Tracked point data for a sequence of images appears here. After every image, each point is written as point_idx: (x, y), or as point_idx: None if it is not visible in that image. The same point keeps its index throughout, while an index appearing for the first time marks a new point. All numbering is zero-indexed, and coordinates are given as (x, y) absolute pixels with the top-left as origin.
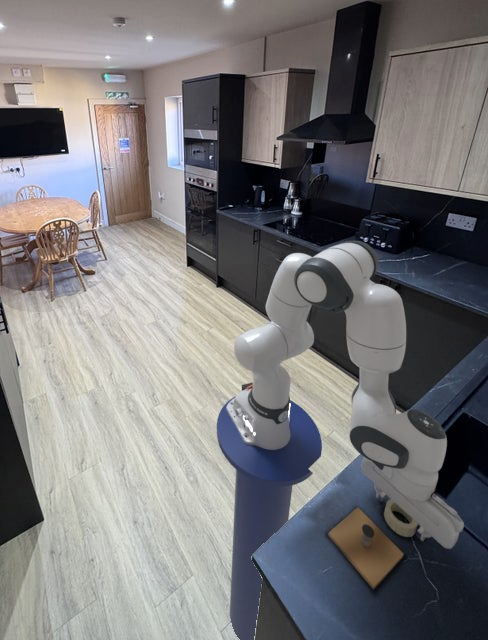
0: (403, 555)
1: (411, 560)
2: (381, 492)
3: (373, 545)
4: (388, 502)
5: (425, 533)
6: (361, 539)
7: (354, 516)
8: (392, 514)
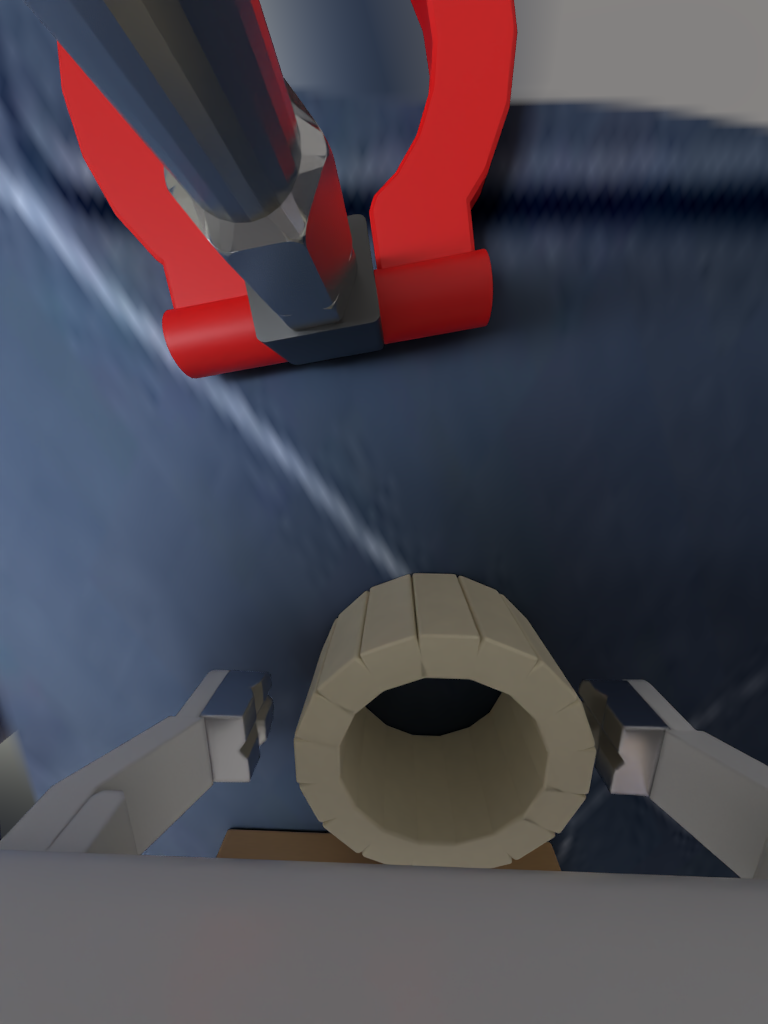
0: (557, 862)
1: (592, 818)
2: (205, 747)
3: None
4: (308, 779)
5: (734, 865)
6: None
7: None
8: (398, 845)
